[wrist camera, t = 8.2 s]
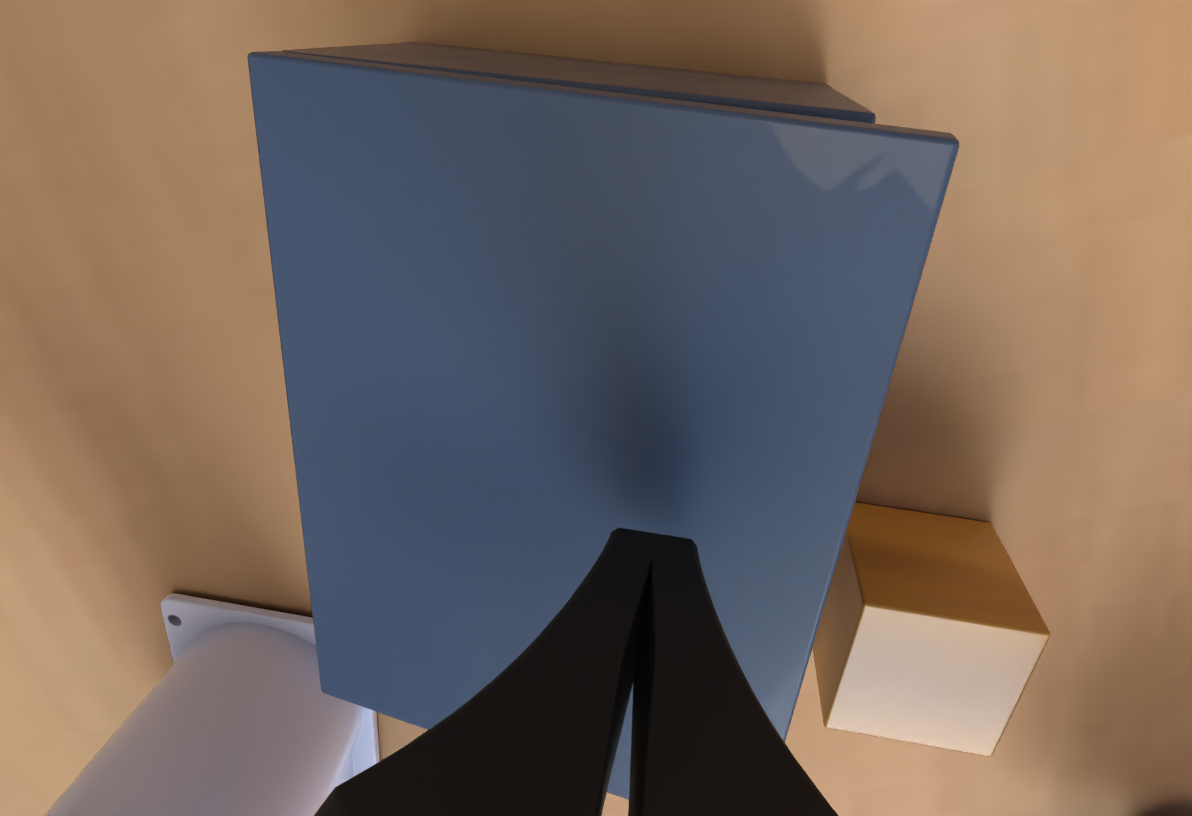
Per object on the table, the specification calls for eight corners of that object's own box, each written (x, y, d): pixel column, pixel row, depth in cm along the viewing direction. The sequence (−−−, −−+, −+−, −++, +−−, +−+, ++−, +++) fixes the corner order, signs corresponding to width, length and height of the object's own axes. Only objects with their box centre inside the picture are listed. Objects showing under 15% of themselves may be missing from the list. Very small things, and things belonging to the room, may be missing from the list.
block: (946, 634, 24) (992, 758, 20) (806, 611, 25) (823, 728, 20) (991, 521, 22) (1052, 634, 18) (838, 498, 23) (863, 603, 18)
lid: (955, 132, 10) (962, 139, 10) (759, 813, 17) (754, 845, 16) (277, 50, 13) (244, 51, 12) (339, 670, 20) (319, 693, 19)
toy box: (828, 84, 18) (877, 113, 12) (725, 575, 24) (726, 739, 19) (409, 41, 19) (275, 49, 13) (422, 526, 25) (337, 668, 20)
